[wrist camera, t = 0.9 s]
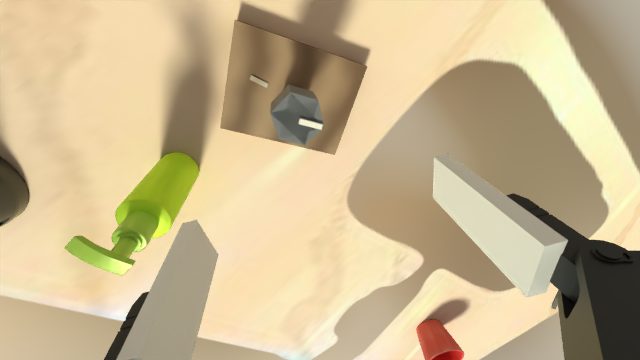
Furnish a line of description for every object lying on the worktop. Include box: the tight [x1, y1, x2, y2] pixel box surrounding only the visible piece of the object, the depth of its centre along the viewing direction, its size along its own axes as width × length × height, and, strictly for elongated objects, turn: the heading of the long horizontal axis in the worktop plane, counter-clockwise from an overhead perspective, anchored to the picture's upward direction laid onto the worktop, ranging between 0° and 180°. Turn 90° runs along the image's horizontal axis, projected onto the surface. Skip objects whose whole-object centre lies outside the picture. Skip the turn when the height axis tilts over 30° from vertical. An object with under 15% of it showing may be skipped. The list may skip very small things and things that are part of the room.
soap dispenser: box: [65, 152, 199, 275], centre depth 33 cm, size 6×7×20 cm
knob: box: [270, 84, 324, 145], centre depth 29 cm, size 6×5×5 cm
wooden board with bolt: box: [220, 20, 367, 155], centre depth 35 cm, size 18×14×8 cm
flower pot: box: [417, 319, 464, 360], centre depth 75 cm, size 11×11×10 cm
